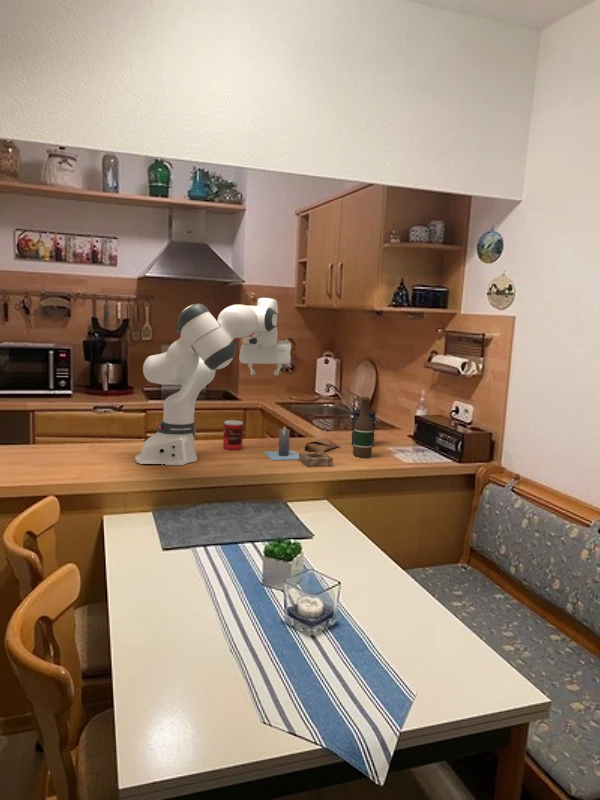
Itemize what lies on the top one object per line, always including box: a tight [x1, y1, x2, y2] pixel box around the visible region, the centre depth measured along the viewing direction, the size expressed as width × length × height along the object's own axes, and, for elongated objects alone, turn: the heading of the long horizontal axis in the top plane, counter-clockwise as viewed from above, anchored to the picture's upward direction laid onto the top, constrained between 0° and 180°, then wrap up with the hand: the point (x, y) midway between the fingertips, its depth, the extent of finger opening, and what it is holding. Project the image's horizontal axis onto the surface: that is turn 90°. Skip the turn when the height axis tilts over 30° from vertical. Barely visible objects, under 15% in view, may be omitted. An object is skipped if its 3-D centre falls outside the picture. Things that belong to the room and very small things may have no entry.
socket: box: [298, 452, 334, 468], centre depth 231 cm, size 10×10×3 cm
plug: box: [278, 426, 291, 456], centre depth 240 cm, size 4×4×11 cm
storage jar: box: [351, 409, 377, 447], centre depth 268 cm, size 10×10×15 cm
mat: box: [262, 450, 299, 462], centre depth 240 cm, size 13×13×1 cm
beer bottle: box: [352, 396, 373, 459], centre depth 245 cm, size 8×8×24 cm
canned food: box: [222, 419, 244, 451], centre depth 249 cm, size 8×8×11 cm
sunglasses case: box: [304, 437, 341, 453], centre depth 257 cm, size 18×7×7 cm
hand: (264, 375), depth 241 cm, fingers open, 8 cm apart
